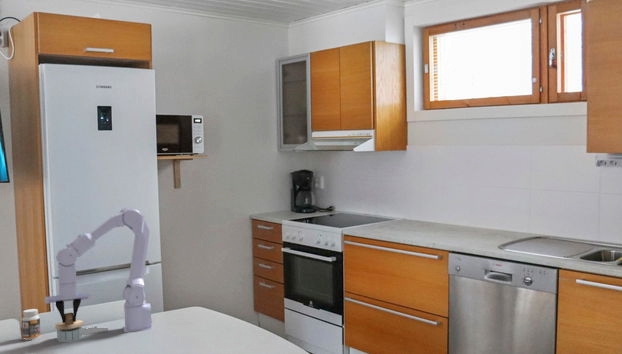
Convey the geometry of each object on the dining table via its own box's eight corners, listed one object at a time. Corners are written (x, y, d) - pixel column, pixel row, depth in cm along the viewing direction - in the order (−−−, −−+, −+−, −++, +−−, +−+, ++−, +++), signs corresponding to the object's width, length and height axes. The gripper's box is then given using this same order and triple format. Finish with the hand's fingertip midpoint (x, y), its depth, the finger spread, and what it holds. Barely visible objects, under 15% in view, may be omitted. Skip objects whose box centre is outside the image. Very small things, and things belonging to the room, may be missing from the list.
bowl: (82, 335, 214) (82, 324, 214) (81, 341, 206) (81, 330, 206) (58, 338, 211) (57, 327, 211) (56, 344, 204) (56, 333, 204)
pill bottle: (33, 341, 209) (32, 312, 209) (19, 340, 210) (17, 312, 210) (44, 336, 214) (42, 308, 214) (29, 335, 216) (28, 308, 215)
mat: (107, 326, 225) (107, 325, 225) (108, 332, 216) (108, 331, 216) (79, 329, 222) (79, 328, 222) (78, 336, 212) (78, 335, 212)
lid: (84, 321, 214) (83, 309, 214) (82, 327, 206) (81, 315, 206) (56, 324, 212) (56, 312, 212) (54, 330, 203) (53, 318, 203)
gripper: (90, 278, 215) (91, 316, 215) (45, 282, 210) (47, 321, 210) (89, 282, 208) (91, 321, 208) (43, 286, 203) (45, 326, 203)
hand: (69, 321), depth 209 cm, fingers closed on lid, 3 cm apart
